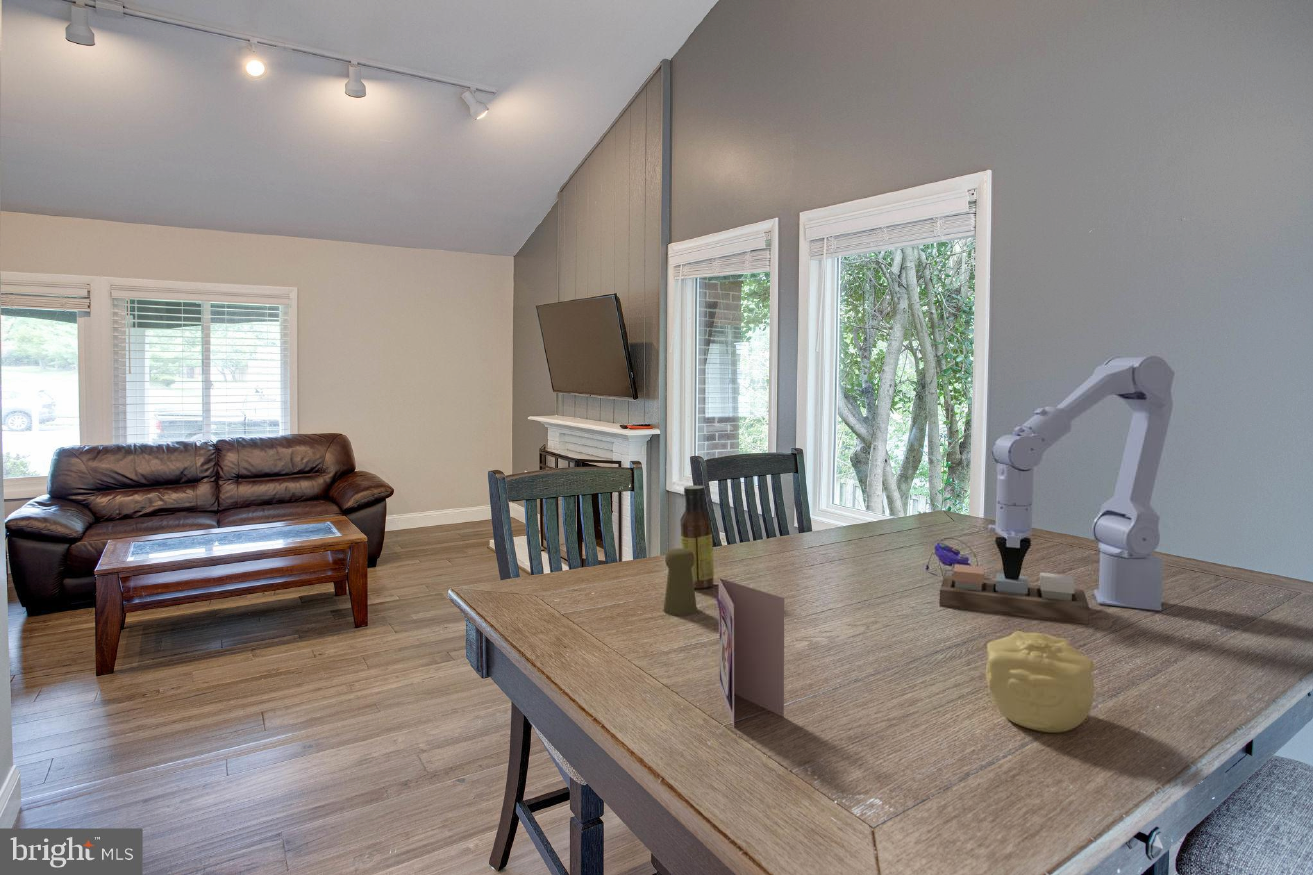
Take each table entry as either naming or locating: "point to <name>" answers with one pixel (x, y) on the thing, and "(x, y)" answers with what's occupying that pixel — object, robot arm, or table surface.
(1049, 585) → the ivory key
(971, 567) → the terracotta key
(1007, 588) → the slate key
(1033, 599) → the brown long flat frame
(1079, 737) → the table surface
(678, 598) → the cork
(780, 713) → the greeting card
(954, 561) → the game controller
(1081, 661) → the sculpture
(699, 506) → the sauce bottle
